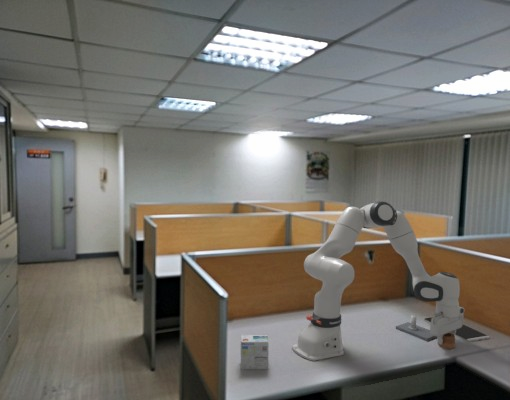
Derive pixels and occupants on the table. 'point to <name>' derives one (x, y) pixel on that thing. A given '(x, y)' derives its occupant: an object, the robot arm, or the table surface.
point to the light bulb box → (254, 352)
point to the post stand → (415, 330)
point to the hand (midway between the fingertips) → (446, 341)
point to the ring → (448, 341)
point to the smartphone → (466, 333)
